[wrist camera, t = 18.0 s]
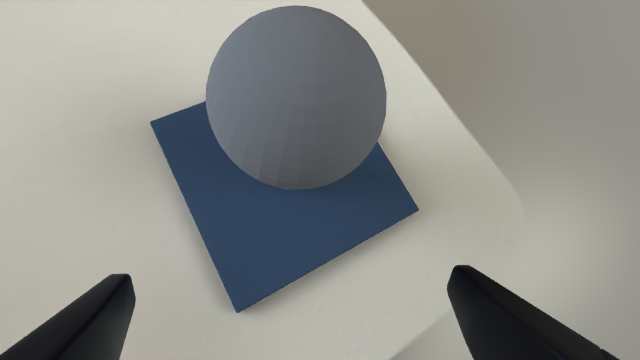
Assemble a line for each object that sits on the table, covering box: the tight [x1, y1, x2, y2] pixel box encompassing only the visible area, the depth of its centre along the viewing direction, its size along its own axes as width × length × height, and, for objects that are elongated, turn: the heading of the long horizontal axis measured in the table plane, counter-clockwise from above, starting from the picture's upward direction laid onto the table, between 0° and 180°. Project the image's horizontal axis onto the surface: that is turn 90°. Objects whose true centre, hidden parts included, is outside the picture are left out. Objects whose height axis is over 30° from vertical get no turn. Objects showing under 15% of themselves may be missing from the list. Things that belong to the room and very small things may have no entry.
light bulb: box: [206, 6, 386, 190], centre depth 13 cm, size 6×6×10 cm
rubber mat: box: [150, 101, 419, 313], centre depth 18 cm, size 11×11×1 cm
